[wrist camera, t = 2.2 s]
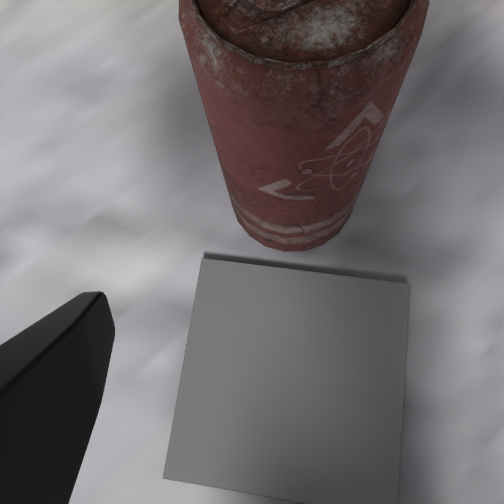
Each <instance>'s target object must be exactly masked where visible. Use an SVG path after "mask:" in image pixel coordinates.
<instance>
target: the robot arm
mask: <svg viewBox="0 0 504 504" xmlns="http://www.w3.org/2000/svg"><path fill="white" fill-rule="evenodd" d="M114 337H115V326H114V322H113V318H112V315H111V311H110V307H109V304H108V300H107V297H106V295H105V294H104V293H103V292H101V291H97V292H84V293H81V294H79V295H78V296H76V297H75V298H73V299H71V300H70V301H68V302H67V303H65V304H64V305H62V306H61V307H59V308H57V309H56V310H54V311H53V312H51V313H50V314H48V315H47V316H45V317H44V318H42V319H40V320H39V321H37V322H36V323H34V324H33V325H31V326H30V327H28V328H26V329H25V330H23V331H22V332H20V333H19V334H17V335H16V336H14V337H12V338H11V339H9V340H8V341H6V342H5V343H3V344H2V345H0V504H69V501H70V498H71V494H72V491H73V488H74V485H75V482H76V479H77V476H78V473H79V470H80V467H81V464H82V461H83V458H84V455H85V452H86V449H87V446H88V443H89V440H90V436H91V433H92V430H93V427H94V424H95V421H96V418H97V415H98V412H99V408H100V405H101V401H102V397H103V392H104V387H105V382H106V377H107V372H108V367H109V362H110V357H111V352H112V347H113V342H114Z"/></svg>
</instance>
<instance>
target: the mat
mask: <svg viewBox="0 0 504 504" xmlns="http://www.w3.org/2000/svg"><path fill="white" fill-rule="evenodd" d="M409 295H410V284H406V283H398V282H390V281H382V280H374V279H366V278H358V277H350V276H342V275H334V274H326V273H318V272H310V271H301V270H293V269H285V268H277V267H269V266H261V265H253V264H245V263H237V262H229V261H221V260H213V259H205V258H202V260H201V266H200V272H199V277H198V283H197V288H196V294H195V300H194V305H193V311H192V317H191V322H190V328H189V334H188V339H187V345H186V350H185V356H184V362H183V367H182V373H181V379H180V384H179V390H178V396H177V401H176V407H175V412H174V418H173V424H172V429H171V435H170V441H169V446H168V452H167V458H166V463H165V469H164V474H163V479H169V480H174V481H180V482H186V483H192V484H197V485H203V486H209V487H215V488H220V489H226V490H232V491H238V492H243V493H249V494H255V495H261V496H266V497H272V498H278V499H284V500H290V501H295V502H301V503H307V504H398V492H399V474H400V456H401V438H402V420H403V402H404V384H405V367H406V349H407V331H408V313H409Z"/></svg>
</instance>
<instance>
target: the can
mask: <svg viewBox="0 0 504 504" xmlns="http://www.w3.org/2000/svg"><path fill="white" fill-rule="evenodd" d="M428 6H429V0H179V21H180V25H181V28H182V32H183V35H184V39H185V42H186V46H187V49H188V53H189V56H190V60H191V63H192V67H193V70H194V74H195V77H196V81H197V84H198V88H199V91H200V95H201V98H202V102H203V105H204V109H205V112H206V116H207V119H208V123H209V126H210V130H211V133H212V137H213V140H214V144H215V147H216V151H217V154H218V158H219V161H220V165H221V168H222V171H223V175H224V178H225V182H226V185H227V189H228V192H229V196H230V199H231V203H232V206H233V209H234V212H235V214H236V217H237V220H238V222H239V223H240V224H241V226H242V227H243V228H244V229H245V231H246V232H247V233H248V234H249V236H251V237H252V238H254V239H255V240H257V241H258V242H260V243H261V244H263V245H265V246H267V247H270V248H274V249H278V250H281V251H306V250H308V249H311V248H314V247H317V246H320V245H323V244H324V243H326V242H327V241H328V240H330V239H331V238H332V237H334V236H335V235H336V234H338V233H339V232H340V230H341V229H342V227H343V226H344V224H345V223H346V221H347V220H348V218H349V217H350V214H351V212H352V209H353V207H354V204H355V202H356V199H357V196H358V194H359V191H360V189H361V186H362V184H363V181H364V179H365V176H366V174H367V171H368V169H369V166H370V164H371V161H372V159H373V156H374V153H375V151H376V148H377V146H378V143H379V141H380V138H381V136H382V133H383V131H384V128H385V126H386V123H387V121H388V118H389V115H390V113H391V110H392V108H393V105H394V103H395V100H396V98H397V95H398V93H399V90H400V88H401V85H402V83H403V80H404V78H405V75H406V72H407V70H408V67H409V65H410V62H411V60H412V57H413V55H414V52H415V50H416V47H417V45H418V42H419V40H420V37H421V34H422V30H423V26H424V22H425V18H426V14H427V10H428Z"/></svg>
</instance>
